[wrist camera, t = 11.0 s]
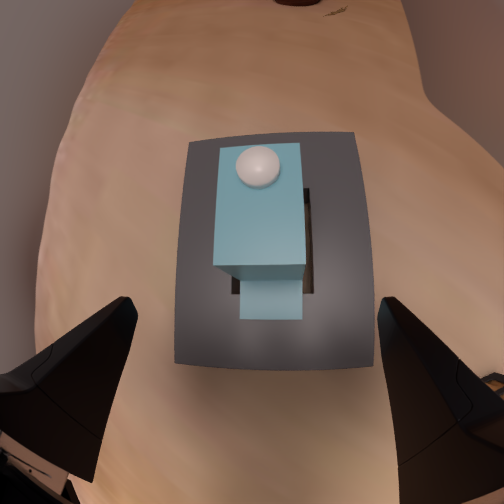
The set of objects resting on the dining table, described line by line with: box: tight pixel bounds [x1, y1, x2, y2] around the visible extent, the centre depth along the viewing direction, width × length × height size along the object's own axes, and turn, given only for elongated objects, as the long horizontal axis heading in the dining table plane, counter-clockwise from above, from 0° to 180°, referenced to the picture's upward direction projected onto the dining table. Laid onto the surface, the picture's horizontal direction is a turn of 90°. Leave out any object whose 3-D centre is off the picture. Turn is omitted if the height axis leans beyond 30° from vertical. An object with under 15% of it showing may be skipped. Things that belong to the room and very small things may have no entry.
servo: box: [213, 143, 306, 320], centre depth 17 cm, size 11×4×11 cm, turn 179°
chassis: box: [174, 132, 375, 370], centre depth 20 cm, size 18×14×3 cm
